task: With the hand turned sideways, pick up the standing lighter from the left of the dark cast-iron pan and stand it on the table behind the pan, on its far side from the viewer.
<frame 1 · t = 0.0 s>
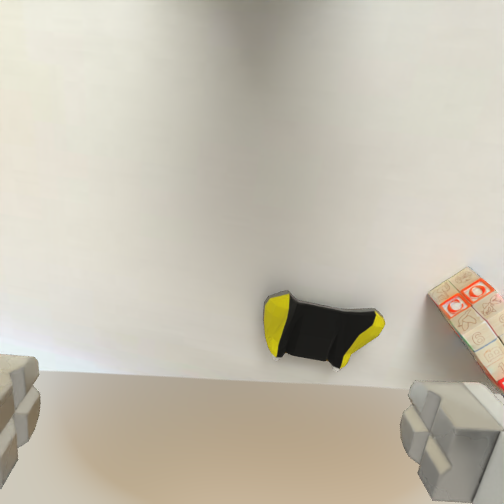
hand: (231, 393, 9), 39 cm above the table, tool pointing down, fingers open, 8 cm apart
stack of blocks: (480, 328, 58), on the table
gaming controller: (312, 316, 55), on the table
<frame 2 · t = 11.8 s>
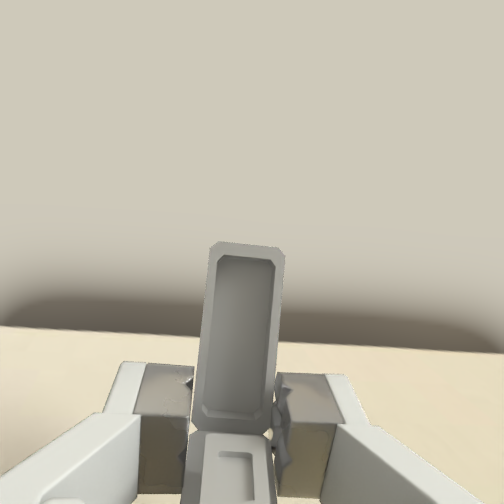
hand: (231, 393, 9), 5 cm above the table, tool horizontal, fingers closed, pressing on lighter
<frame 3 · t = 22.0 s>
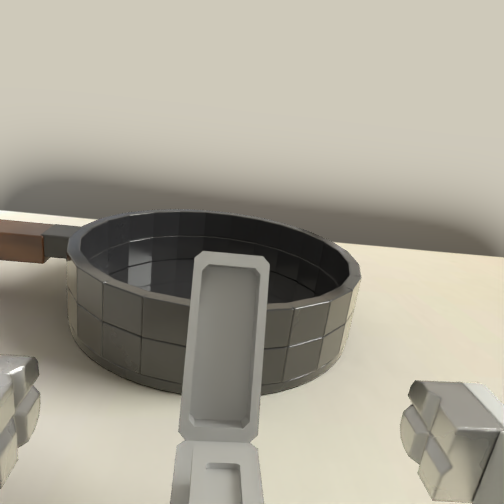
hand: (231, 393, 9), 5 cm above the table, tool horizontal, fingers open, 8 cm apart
pan: (212, 310, 24), on the table
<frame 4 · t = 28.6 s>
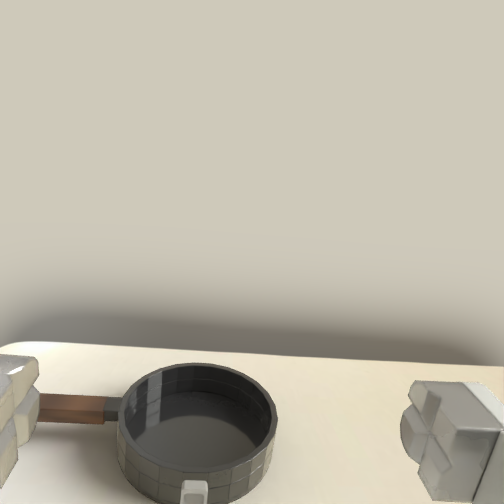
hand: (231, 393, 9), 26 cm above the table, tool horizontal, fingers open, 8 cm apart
pan: (196, 440, 42), on the table
pan handle: (62, 408, 40), point 3 cm above the table
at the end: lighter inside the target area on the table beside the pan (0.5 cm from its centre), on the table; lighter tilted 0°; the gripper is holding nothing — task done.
